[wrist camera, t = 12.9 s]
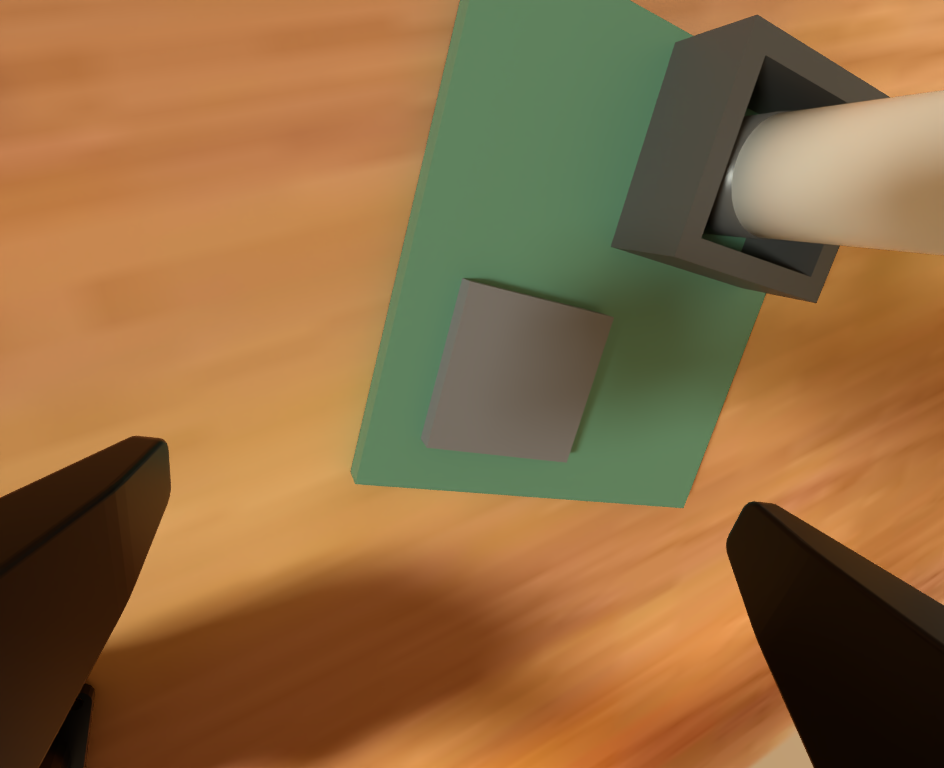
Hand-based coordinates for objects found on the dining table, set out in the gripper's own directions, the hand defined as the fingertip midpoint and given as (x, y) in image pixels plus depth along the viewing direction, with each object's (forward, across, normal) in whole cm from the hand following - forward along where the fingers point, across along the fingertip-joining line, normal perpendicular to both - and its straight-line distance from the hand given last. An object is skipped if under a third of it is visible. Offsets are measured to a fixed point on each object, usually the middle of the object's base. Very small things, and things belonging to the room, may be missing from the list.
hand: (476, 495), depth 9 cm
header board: (+14, -6, 0) cm, 16 cm away
